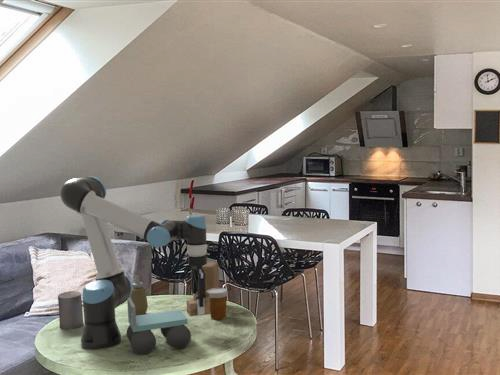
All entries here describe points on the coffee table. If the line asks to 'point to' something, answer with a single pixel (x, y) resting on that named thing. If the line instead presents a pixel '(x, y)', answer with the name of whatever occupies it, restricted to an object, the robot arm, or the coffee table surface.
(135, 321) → the trolley
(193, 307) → the block
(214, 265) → the block
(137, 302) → the squeeze bottle
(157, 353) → the coffee table surface
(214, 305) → the disposable coffee cup
